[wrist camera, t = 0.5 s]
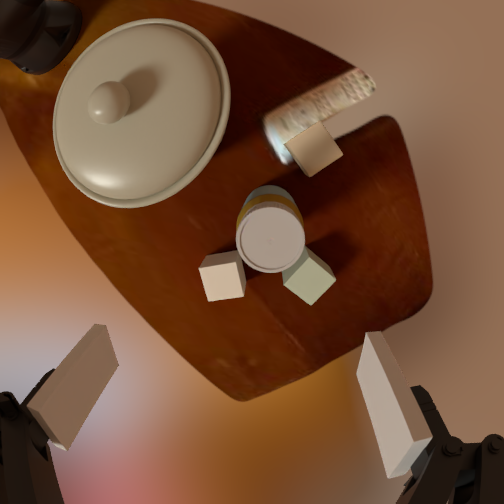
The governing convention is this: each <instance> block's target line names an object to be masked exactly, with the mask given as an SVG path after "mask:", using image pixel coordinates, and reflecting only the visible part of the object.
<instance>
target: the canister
mask: <svg viewBox="0 0 504 504" xmlns="http://www.w3.org/2000/svg"><path fill="white" fill-rule="evenodd" d="M230 101H231V92H230V82H229V77H228V73H227V69H226V67H225V64H224V62H223V59H222V57H221V56H220V54H219V52H218V51H217V49H216V48H215V46H214V45H213V44H212V43H211V42H210V41H209V39H207V38H206V37H205V36H204V35H203V34H202V33H200V32H199V31H198V30H196V29H194V28H193V27H191V26H189V25H186V24H184V23H181V22H178V21H174V20H169V19H157V18H155V19H143V20H138V21H133V22H130V23H127V24H124V25H121V26H119V27H117V28H115V29H113V30H111V31H109V32H107V33H106V34H104V35H103V36H101V37H100V38H98V39H97V40H96V41H95V42H93V43H92V44H91V45H90V46H89V47H88V48H87V49H86V50H85V51H84V52H83V53H82V54H81V55H80V56H79V57H78V59H77V60H76V61H75V63H74V64H73V65H72V67H71V68H70V70H69V72H68V73H67V75H66V77H65V79H64V81H63V83H62V86H61V88H60V91H59V93H58V97H57V100H56V104H55V109H54V117H53V137H54V144H55V149H56V153H57V156H58V159H59V161H60V164H61V166H62V168H63V170H64V171H65V173H66V175H67V176H68V178H69V179H70V180H71V182H72V183H73V184H74V185H75V186H76V187H77V188H78V189H79V190H80V191H81V192H82V193H84V194H85V195H86V196H88V197H90V198H91V199H93V200H95V201H97V202H99V203H102V204H105V205H108V206H112V207H119V208H136V207H143V206H147V205H151V204H154V203H157V202H159V201H162V200H164V199H166V198H168V197H170V196H172V195H174V194H175V193H177V192H179V191H180V190H181V189H183V188H184V187H185V186H187V185H188V184H189V183H190V182H191V181H192V180H193V179H195V178H196V177H197V176H198V174H199V173H200V172H201V171H202V170H203V169H204V168H205V166H206V165H207V164H208V162H209V161H210V159H211V158H212V156H213V155H214V153H215V151H216V150H217V149H218V146H219V144H220V142H221V141H222V138H223V135H224V134H225V128H226V125H227V121H228V117H229V111H230Z"/></svg>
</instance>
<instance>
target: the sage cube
mask: <svg viewBox="0 0 504 504" xmlns="http://www.w3.org/2000/svg"><path fill="white" fill-rule="evenodd" d="M282 275H283V284H284V285H285V286H286V287H287V288H288V289H290V290H291V291H292V292H294V293H295V294H296V295H298V296H299V297H300V298H302V299H303V300H304V301H305V302H307V303H308V304H309V305H312V304H313V303H314V302H315V301H316V300H317V299H318V298H319V297H320V296H321V295H322V294H323V293H324V292H325V291H326V290H327V289H328V288H329V287H330V286H331V285H332V284H333V283H334V282H335V281H336V278H335V276H334V274H333V272H332V270H331V269H330V267H329V266H328V265H327V264H326V263H325V262H324V261H323V260H321V259H320V258H319V257H318V256H317V255H315V254H314V253H313V252H312V251H311V250H309V249H308V248H307V247H306V246H304V249H303V251H302V254H301V256H300V257H299V259H298V260H297V261H296V262H295V263H294V264H293V265H292V266H291V267H289V268H287V269H285V270H283V271H282Z"/></svg>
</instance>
